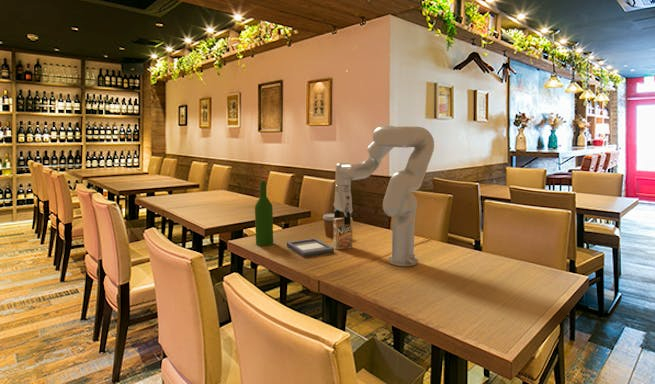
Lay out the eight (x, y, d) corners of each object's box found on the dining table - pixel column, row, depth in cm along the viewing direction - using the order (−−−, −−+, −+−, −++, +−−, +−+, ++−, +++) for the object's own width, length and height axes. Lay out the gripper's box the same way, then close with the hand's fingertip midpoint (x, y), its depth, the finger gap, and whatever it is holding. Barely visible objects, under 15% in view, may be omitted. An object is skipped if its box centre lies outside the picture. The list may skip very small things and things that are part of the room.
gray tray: (333, 252, 194) (333, 247, 194) (303, 257, 187) (303, 252, 186) (315, 242, 212) (315, 238, 211) (287, 246, 204) (287, 242, 204)
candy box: (335, 249, 199) (335, 219, 197) (333, 247, 203) (333, 217, 201) (352, 248, 202) (352, 218, 199) (349, 246, 206) (349, 216, 203)
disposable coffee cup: (339, 238, 220) (340, 216, 219) (322, 238, 221) (322, 216, 219) (339, 234, 230) (339, 213, 228) (323, 233, 230) (323, 213, 228)
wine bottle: (275, 241, 214) (273, 180, 209) (271, 246, 205) (269, 183, 200) (258, 241, 215) (256, 180, 210) (253, 246, 206) (251, 182, 201)
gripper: (358, 190, 192) (357, 225, 195) (340, 185, 207) (339, 217, 210) (345, 191, 189) (344, 226, 191) (327, 186, 204) (327, 219, 206)
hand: (342, 222), depth 201 cm, fingers open, 9 cm apart
